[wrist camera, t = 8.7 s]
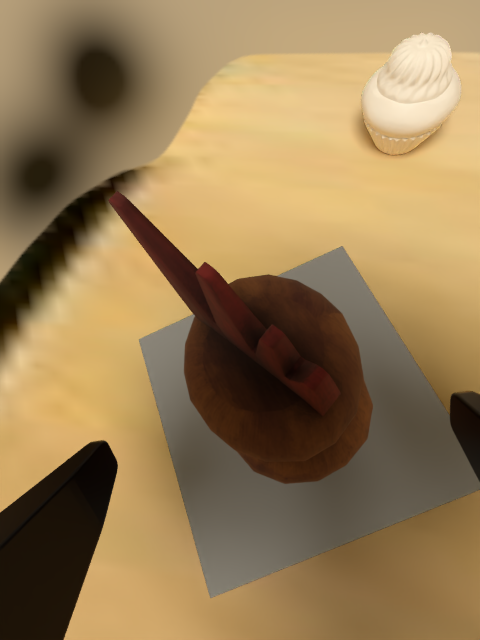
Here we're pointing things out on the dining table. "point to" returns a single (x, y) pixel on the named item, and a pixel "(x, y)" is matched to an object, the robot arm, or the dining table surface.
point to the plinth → (335, 489)
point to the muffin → (411, 94)
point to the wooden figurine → (266, 364)
